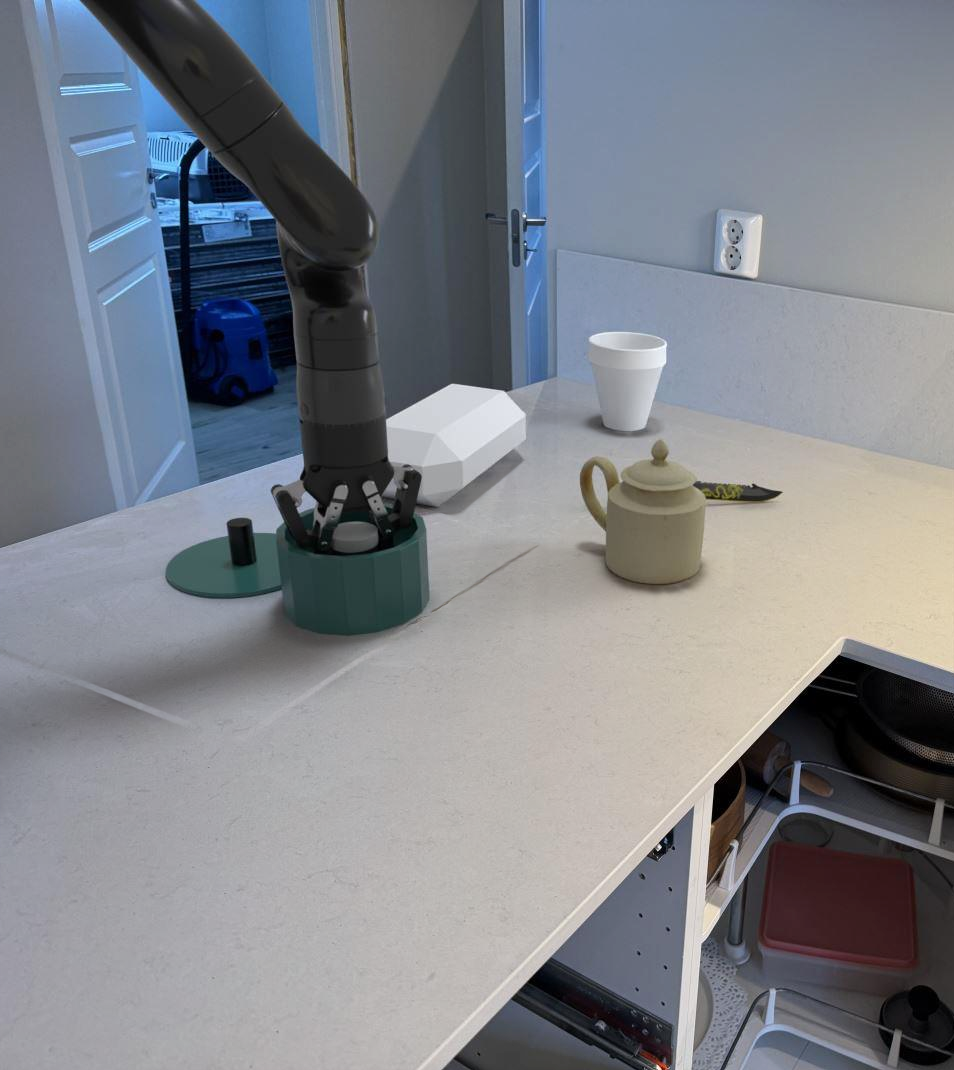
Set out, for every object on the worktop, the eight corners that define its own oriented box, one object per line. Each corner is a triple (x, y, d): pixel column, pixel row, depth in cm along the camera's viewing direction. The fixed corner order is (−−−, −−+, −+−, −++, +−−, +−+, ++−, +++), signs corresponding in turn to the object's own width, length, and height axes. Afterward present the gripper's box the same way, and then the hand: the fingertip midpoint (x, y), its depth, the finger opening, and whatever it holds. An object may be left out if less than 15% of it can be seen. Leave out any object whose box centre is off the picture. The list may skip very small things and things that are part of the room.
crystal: (334, 430, 118) (442, 374, 143) (340, 504, 122) (444, 437, 147) (446, 446, 116) (536, 387, 141) (449, 522, 120) (536, 451, 145)
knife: (775, 514, 136) (783, 480, 134) (779, 519, 134) (787, 484, 133) (609, 505, 128) (615, 468, 126) (612, 509, 126) (617, 473, 125)
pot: (253, 616, 96) (243, 537, 92) (352, 564, 108) (346, 492, 104) (365, 654, 91) (358, 571, 88) (456, 595, 103) (453, 520, 100)
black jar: (322, 593, 98) (317, 533, 95) (355, 576, 101) (350, 517, 99) (359, 605, 96) (355, 544, 93) (391, 586, 100) (387, 528, 97)
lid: (134, 580, 101) (125, 530, 98) (248, 531, 113) (242, 485, 111) (242, 616, 96) (235, 564, 94) (349, 561, 108) (345, 514, 106)
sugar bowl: (562, 576, 109) (564, 447, 103) (581, 536, 119) (583, 416, 113) (697, 589, 108) (707, 460, 102) (704, 547, 118) (713, 428, 112)
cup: (631, 442, 152) (635, 354, 146) (570, 424, 157) (571, 339, 152) (677, 424, 161) (683, 341, 156) (618, 408, 167) (621, 327, 161)
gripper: (403, 389, 98) (412, 546, 105) (249, 406, 90) (269, 574, 97) (433, 411, 92) (440, 574, 99) (271, 430, 84) (291, 607, 91)
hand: (355, 573), depth 98 cm, fingers closed on black jar, 4 cm apart
